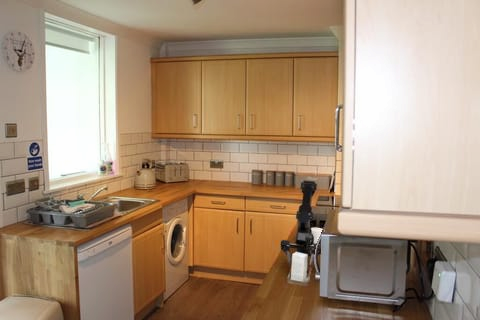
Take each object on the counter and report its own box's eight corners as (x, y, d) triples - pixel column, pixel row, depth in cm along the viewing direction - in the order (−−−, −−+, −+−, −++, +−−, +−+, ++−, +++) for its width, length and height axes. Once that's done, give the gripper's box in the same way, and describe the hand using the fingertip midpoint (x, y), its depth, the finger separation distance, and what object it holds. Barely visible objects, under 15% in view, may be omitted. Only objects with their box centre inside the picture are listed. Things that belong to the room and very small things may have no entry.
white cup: (323, 250, 232) (324, 232, 231) (308, 248, 234) (309, 231, 232) (323, 245, 240) (324, 228, 239) (308, 243, 241) (310, 226, 240)
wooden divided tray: (291, 267, 206) (292, 264, 206) (311, 270, 204) (311, 267, 204) (286, 283, 189) (286, 279, 189) (308, 286, 187) (308, 283, 186)
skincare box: (306, 279, 193) (308, 254, 191) (302, 282, 189) (304, 257, 187) (294, 276, 196) (295, 251, 194) (290, 279, 192) (291, 254, 190)
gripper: (282, 222, 194) (277, 254, 185) (323, 227, 190) (321, 259, 181) (283, 234, 203) (278, 264, 194) (322, 238, 199) (320, 270, 190)
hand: (299, 264), depth 190 cm, fingers open, 9 cm apart
